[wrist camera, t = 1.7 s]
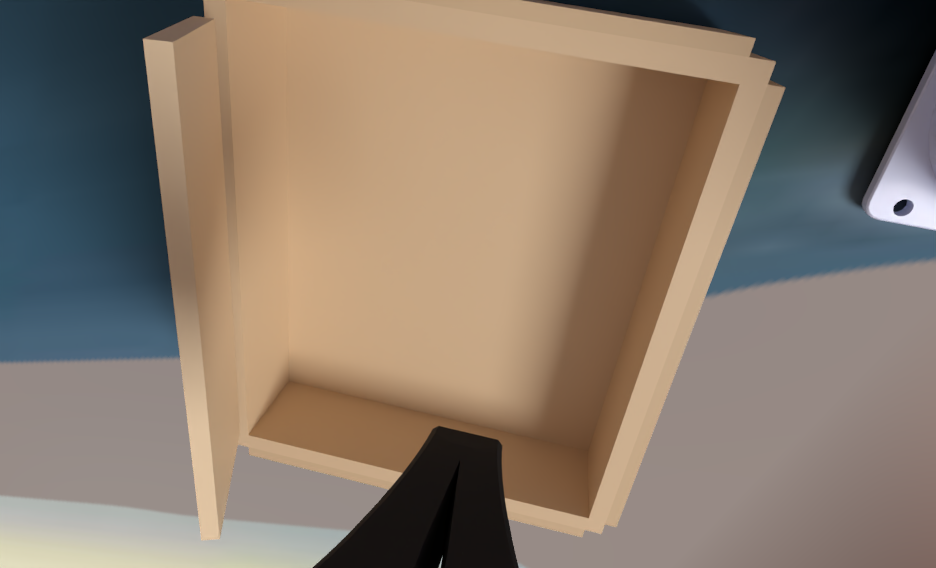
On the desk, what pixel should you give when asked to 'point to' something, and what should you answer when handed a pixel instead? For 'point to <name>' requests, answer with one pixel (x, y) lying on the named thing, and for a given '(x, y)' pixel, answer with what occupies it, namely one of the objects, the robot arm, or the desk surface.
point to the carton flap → (197, 249)
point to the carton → (475, 230)
